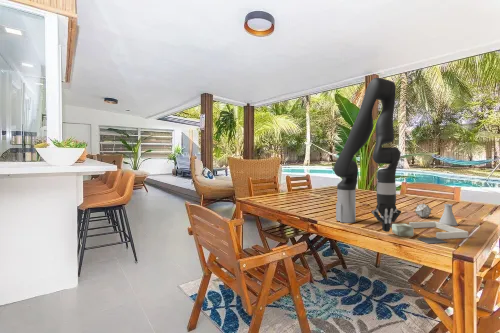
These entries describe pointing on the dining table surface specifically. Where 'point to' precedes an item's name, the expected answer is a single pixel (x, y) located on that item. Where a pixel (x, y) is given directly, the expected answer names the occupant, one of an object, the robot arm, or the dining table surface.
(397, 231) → the sage block
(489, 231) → the dining table surface
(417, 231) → the dining table surface
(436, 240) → the mats
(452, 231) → the grey u-shaped bracket
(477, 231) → the dining table surface
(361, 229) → the dining table surface
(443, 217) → the flask
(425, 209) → the game die
